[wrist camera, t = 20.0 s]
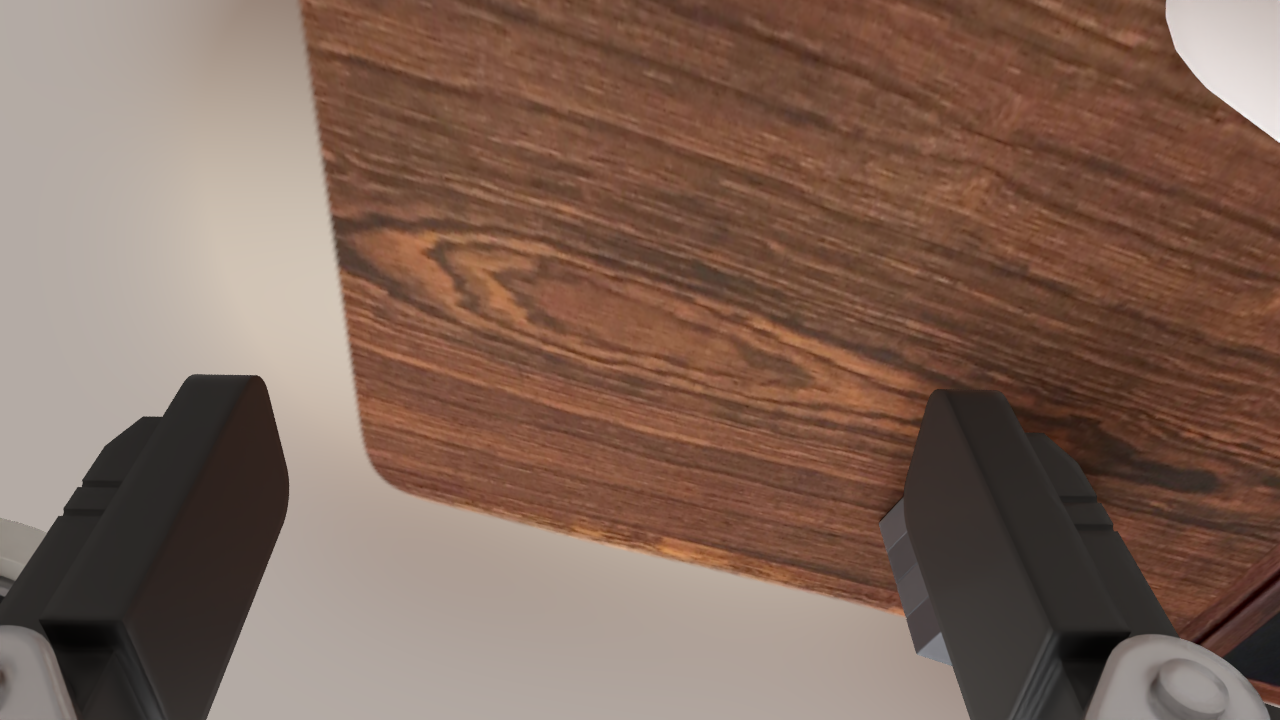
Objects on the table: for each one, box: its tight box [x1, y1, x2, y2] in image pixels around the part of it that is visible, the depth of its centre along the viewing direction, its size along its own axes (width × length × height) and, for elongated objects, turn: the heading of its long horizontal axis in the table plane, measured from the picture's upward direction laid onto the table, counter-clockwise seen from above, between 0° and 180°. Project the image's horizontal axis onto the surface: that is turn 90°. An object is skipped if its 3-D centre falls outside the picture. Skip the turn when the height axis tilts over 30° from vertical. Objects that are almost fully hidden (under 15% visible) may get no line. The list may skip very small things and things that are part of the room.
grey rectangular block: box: [879, 497, 952, 666], centre depth 41 cm, size 8×4×7 cm, turn 63°
